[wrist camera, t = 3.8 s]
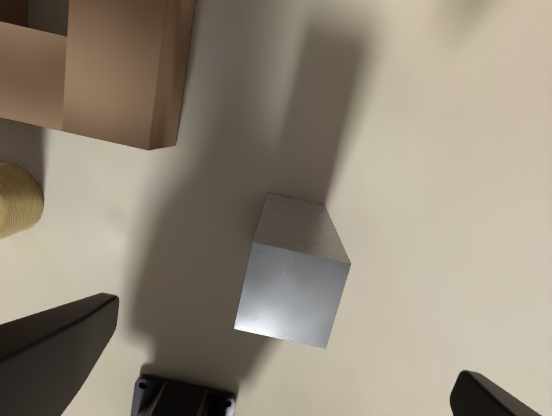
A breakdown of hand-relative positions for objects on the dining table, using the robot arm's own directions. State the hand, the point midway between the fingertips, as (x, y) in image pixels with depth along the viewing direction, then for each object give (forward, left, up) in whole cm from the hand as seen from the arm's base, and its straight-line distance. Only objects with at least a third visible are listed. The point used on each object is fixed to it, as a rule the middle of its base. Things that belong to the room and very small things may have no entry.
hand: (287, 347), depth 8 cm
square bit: (0, 0, -10) cm, 10 cm away
